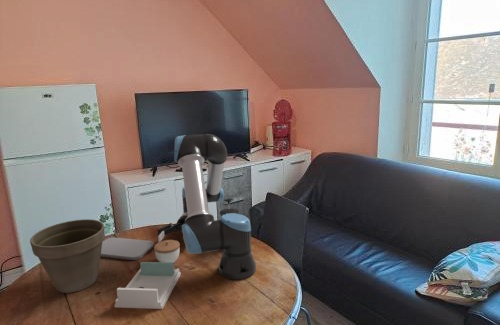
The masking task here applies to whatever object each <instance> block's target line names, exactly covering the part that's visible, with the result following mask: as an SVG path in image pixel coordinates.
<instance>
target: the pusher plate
mask: <svg viewBox="0 0 500 325" xmlns="http://www.w3.org/2000/svg"><path fill="white" fill-rule="evenodd" d="M174 263H175V262H174ZM174 263H173V262H159V261H140V262H139V265H140V268H141V275H173V274H174V273H175V271H174V270H175V264H174ZM140 268H139V269H140Z"/></svg>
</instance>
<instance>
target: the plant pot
mask: <svg viewBox="0 0 500 325" xmlns="http://www.w3.org/2000/svg"><path fill="white" fill-rule="evenodd" d="M105 234H106V233H105V225H104V223H103V222H102V221H100V220H97V219H84V218H83V219H75V220H68V221H65V222H60V223H55V224H53V225H51V226H48V227H45V228H43V229H41V230H39V231H38V232H36V233H35V234H33V235H32V236H31V238H30V240H29V243H30V247H31V250H32V254H33V255H34V256H36V257H37V258H38V260H39V262H40V264H41V265H42V267H43V269H44V270H45V273H46V274H47V276H48V277H49V280H50V281H51V282H52V285H53V286H54V288H55V289H56V290H57V291H58V292H60V293H65V294H68V293H69V294H70V293H76V292H80V291H82V290H85V289H87V288H89V287H91V286H92V285H93V284H94V283H96V282H97V279H98V275H99V269H100V263H101V249H102V242H103V241H104V240H105V239H106V235H105Z"/></svg>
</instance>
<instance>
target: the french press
mask: <svg viewBox="0 0 500 325" xmlns="http://www.w3.org/2000/svg"><path fill="white" fill-rule="evenodd" d="M223 201H224V202H225V203H226V202H227V204H228V206H230V204H231V202H233V201H234V199H233V198H225V199H223ZM228 213H235V214H239V213H240V212H239V210H238V209H236V208H225V209H222V210H220V211H219V215H220V217H221V216H222V215H225V214H228Z"/></svg>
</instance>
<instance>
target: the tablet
mask: <svg viewBox="0 0 500 325" xmlns="http://www.w3.org/2000/svg"><path fill="white" fill-rule="evenodd" d="M154 246H155V243H154V240H144V239H134V238H124V237H123V238H122V237H109V238H105V239H104V240H103V242H102V249H101V257H102V258H109V257H110V258H111V259H120V260H127V261H138V260H139V259H141V258H143V257H144V256H145V255H146V254H148V252H149V251H150V250H151V249H152V248H154ZM101 257H100V258H101Z"/></svg>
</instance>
